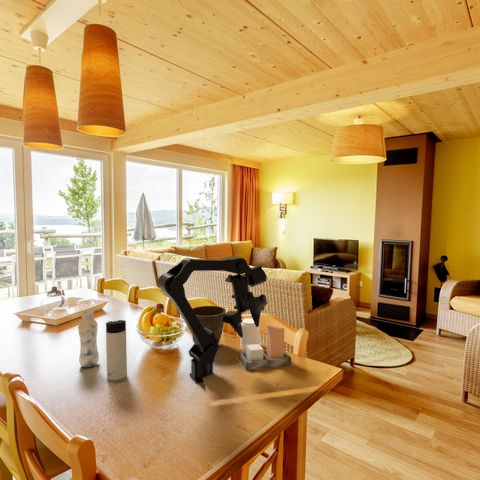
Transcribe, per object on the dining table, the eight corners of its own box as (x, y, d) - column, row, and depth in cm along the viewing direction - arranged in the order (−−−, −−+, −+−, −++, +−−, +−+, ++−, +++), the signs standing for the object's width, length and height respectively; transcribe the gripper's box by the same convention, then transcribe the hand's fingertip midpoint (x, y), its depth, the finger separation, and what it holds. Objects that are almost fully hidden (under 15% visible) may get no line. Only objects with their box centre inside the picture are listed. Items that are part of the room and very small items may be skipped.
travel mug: (108, 385, 107) (106, 324, 105) (106, 376, 112) (104, 318, 111) (128, 380, 110) (127, 321, 108) (125, 372, 115) (124, 316, 114)
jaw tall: (270, 364, 120) (271, 329, 119) (266, 358, 125) (266, 324, 124) (283, 362, 121) (284, 328, 120) (279, 357, 126) (279, 323, 125)
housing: (244, 374, 114) (244, 364, 114) (236, 361, 125) (236, 351, 124) (294, 368, 119) (294, 358, 119) (282, 355, 130) (282, 346, 129)
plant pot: (182, 352, 132) (182, 313, 131) (200, 339, 146) (200, 304, 145) (215, 358, 127) (215, 318, 126) (231, 344, 141) (231, 307, 139)
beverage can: (258, 353, 132) (258, 324, 131) (238, 352, 133) (238, 322, 132) (261, 346, 140) (261, 318, 139) (242, 344, 141) (242, 316, 140)
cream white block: (249, 366, 118) (250, 350, 117) (245, 360, 123) (246, 345, 122) (263, 365, 119) (263, 349, 119) (258, 359, 124) (258, 343, 123)
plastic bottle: (103, 363, 122) (101, 310, 121) (87, 371, 116) (86, 315, 114) (90, 360, 125) (89, 308, 123) (75, 367, 119) (73, 313, 117)
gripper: (240, 301, 106) (250, 346, 108) (274, 283, 120) (282, 323, 122) (217, 299, 114) (226, 342, 116) (250, 282, 128) (258, 321, 129)
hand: (249, 331), depth 120 cm, fingers open, 9 cm apart
